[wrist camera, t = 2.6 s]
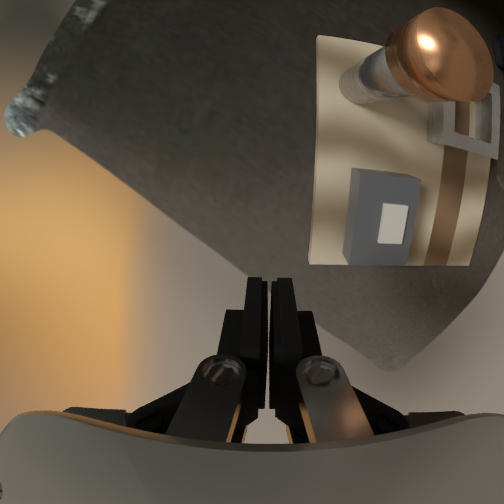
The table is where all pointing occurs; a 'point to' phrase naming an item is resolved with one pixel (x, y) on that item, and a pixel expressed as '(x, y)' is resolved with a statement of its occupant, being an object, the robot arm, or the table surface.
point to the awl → (424, 63)
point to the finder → (380, 217)
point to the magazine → (499, 51)
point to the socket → (485, 125)
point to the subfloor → (391, 165)
